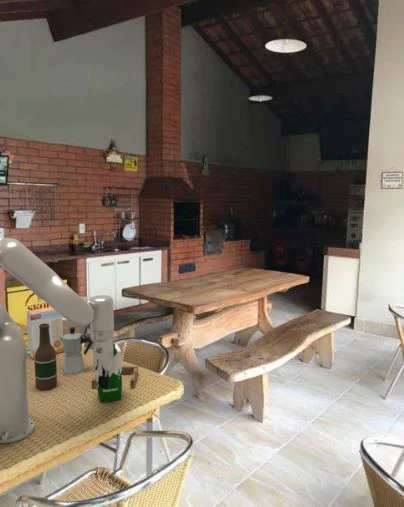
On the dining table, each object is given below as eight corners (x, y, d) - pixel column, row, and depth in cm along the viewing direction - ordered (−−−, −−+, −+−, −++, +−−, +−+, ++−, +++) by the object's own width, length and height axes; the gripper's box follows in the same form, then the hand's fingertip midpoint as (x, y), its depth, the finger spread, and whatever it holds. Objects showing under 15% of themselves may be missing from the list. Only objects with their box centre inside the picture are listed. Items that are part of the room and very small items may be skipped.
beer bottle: (50, 392, 154) (47, 328, 151) (31, 390, 156) (28, 326, 153) (61, 383, 162) (59, 322, 159) (43, 381, 164) (40, 320, 160)
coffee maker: (53, 373, 171) (52, 329, 169) (64, 364, 180) (63, 323, 177) (88, 376, 168) (87, 332, 166) (97, 367, 177) (96, 325, 175)
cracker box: (59, 348, 198) (57, 305, 195) (64, 352, 194) (62, 307, 191) (28, 355, 189) (26, 310, 186) (32, 359, 185) (30, 313, 182)
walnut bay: (133, 388, 158) (133, 380, 158) (92, 388, 158) (91, 380, 157) (137, 373, 171) (137, 366, 171) (99, 373, 171) (99, 366, 170)
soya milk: (98, 404, 145) (97, 348, 143) (95, 393, 154) (93, 340, 151) (124, 400, 149) (123, 345, 146) (119, 389, 157) (118, 337, 154)
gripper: (109, 341, 131) (110, 397, 133) (117, 326, 146) (119, 377, 148) (84, 341, 131) (86, 397, 133) (95, 326, 145) (97, 377, 148)
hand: (103, 386), depth 141 cm, fingers closed
